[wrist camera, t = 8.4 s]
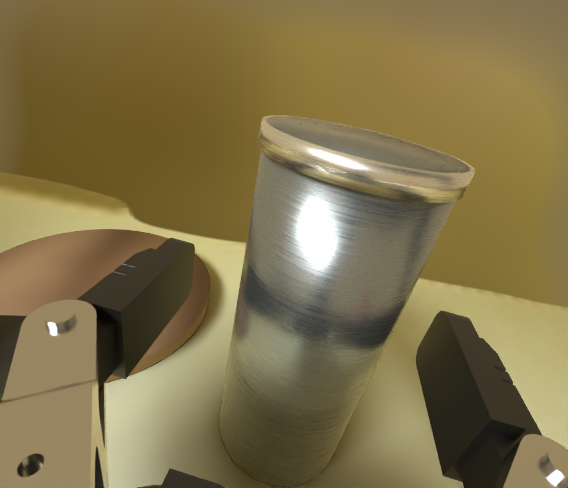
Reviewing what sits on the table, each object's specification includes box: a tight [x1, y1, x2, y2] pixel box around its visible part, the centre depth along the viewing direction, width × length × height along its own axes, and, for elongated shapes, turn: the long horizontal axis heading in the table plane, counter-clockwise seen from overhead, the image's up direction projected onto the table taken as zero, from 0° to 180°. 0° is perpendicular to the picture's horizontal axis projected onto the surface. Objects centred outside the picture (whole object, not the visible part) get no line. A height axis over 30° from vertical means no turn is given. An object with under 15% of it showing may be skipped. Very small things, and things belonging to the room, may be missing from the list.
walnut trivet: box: [0, 229, 210, 383], centre depth 18 cm, size 12×12×1 cm
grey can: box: [219, 115, 475, 486], centre depth 11 cm, size 5×5×12 cm
